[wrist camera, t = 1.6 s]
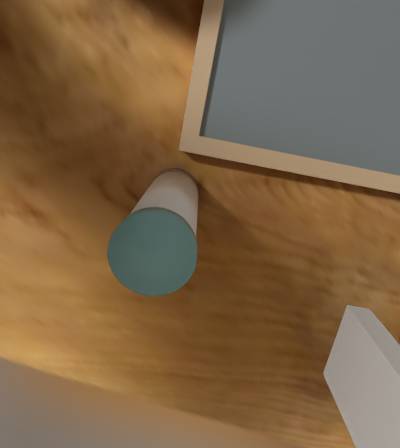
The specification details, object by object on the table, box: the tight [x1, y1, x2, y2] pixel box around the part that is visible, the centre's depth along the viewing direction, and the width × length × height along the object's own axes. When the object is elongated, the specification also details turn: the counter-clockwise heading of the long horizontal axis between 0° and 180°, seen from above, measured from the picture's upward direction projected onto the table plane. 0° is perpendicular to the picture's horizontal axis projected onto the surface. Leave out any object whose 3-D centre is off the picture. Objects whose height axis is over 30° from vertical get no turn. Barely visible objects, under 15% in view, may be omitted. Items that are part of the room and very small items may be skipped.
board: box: [179, 0, 400, 194], centre depth 24 cm, size 22×17×1 cm
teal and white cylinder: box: [108, 169, 199, 296], centre depth 21 cm, size 4×4×12 cm
